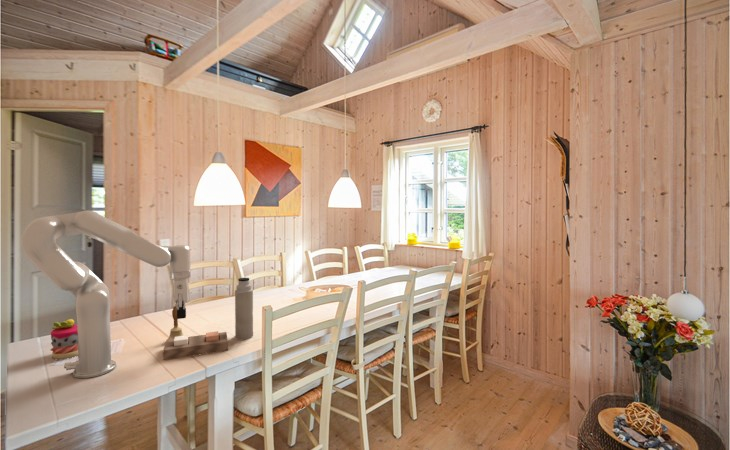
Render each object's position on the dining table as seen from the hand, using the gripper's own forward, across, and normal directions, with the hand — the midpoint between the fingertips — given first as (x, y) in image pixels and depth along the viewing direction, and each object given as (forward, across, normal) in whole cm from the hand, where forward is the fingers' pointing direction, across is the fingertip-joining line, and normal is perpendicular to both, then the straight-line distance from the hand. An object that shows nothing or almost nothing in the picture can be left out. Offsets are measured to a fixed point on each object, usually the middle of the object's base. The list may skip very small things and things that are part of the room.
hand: (181, 317), depth 145 cm
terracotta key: (+12, 0, -12) cm, 16 cm away
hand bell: (+15, +15, +4) cm, 21 cm away
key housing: (+15, 0, -6) cm, 16 cm away
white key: (+12, 0, 0) cm, 12 cm away
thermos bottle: (+15, +8, -26) cm, 31 cm away
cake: (+14, +15, +42) cm, 47 cm away
